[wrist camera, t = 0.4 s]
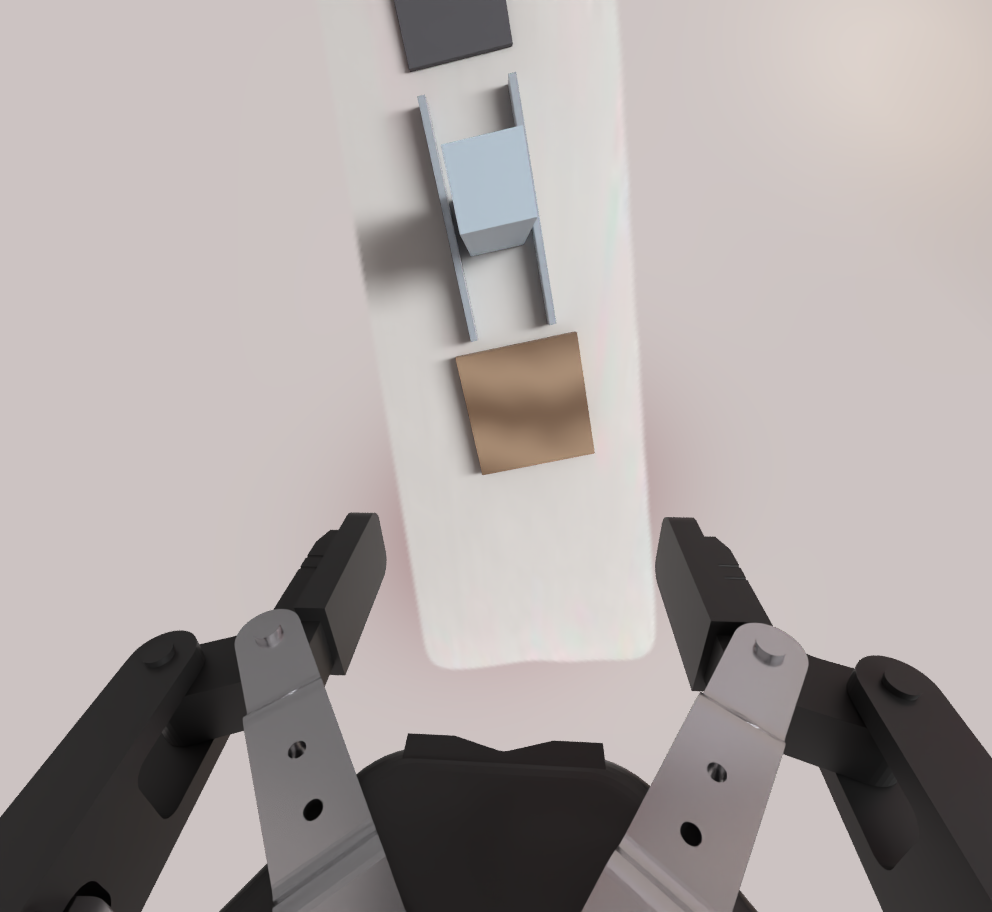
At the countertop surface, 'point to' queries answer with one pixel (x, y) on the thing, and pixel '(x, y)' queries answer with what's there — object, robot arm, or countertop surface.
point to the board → (527, 403)
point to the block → (491, 189)
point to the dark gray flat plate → (451, 29)
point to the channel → (449, 222)
